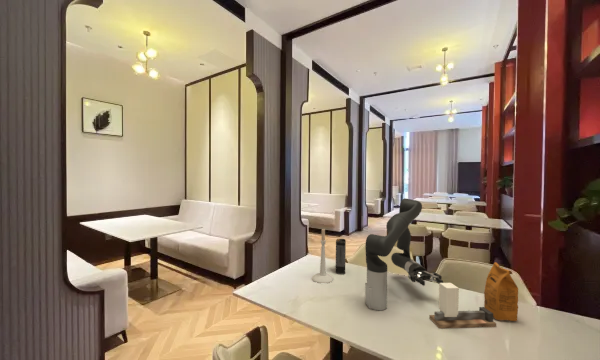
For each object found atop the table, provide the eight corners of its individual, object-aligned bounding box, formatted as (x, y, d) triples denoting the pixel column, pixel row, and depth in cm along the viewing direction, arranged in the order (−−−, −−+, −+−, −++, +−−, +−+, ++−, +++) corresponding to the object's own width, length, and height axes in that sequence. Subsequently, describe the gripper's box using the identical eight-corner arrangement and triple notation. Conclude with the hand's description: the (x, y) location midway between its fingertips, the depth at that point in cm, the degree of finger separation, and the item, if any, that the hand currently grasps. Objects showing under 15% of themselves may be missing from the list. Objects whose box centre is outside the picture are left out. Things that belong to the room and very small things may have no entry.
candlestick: (335, 283, 141) (335, 231, 141) (312, 283, 141) (312, 230, 141) (332, 274, 154) (332, 226, 154) (311, 274, 154) (312, 226, 154)
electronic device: (345, 274, 154) (345, 242, 154) (335, 273, 155) (335, 242, 155) (345, 269, 163) (345, 238, 163) (336, 268, 165) (336, 238, 164)
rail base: (439, 328, 101) (439, 316, 100) (429, 318, 108) (429, 306, 107) (496, 326, 102) (496, 314, 102) (482, 317, 109) (483, 305, 109)
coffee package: (504, 309, 116) (506, 262, 115) (521, 324, 104) (522, 272, 103) (480, 306, 118) (481, 260, 118) (493, 321, 106) (494, 269, 106)
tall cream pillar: (446, 318, 102) (446, 288, 101) (438, 311, 107) (439, 282, 106) (458, 317, 102) (458, 288, 102) (450, 311, 107) (450, 282, 107)
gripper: (402, 263, 131) (418, 275, 115) (428, 262, 132) (448, 275, 116) (401, 277, 131) (418, 291, 115) (428, 276, 132) (448, 291, 116)
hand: (433, 283), depth 115 cm, fingers open, 8 cm apart
